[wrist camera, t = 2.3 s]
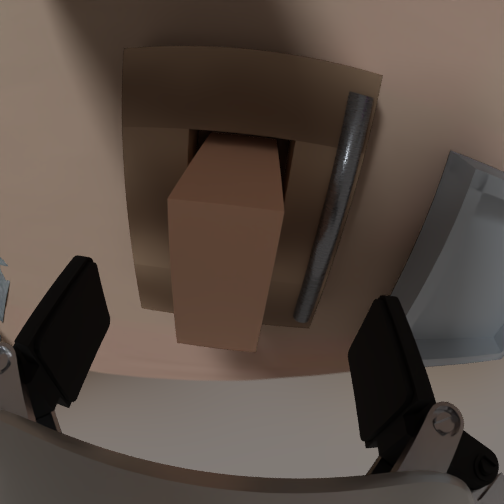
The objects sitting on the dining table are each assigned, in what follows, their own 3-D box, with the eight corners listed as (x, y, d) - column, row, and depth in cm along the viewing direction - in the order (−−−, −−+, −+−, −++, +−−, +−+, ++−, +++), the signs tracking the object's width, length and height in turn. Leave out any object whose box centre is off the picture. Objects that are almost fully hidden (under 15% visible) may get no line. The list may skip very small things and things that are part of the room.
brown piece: (142, 48, 11) (118, 48, 9) (367, 72, 11) (387, 76, 9) (150, 285, 19) (139, 314, 17) (306, 304, 19) (309, 334, 17)
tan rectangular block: (211, 132, 13) (167, 198, 8) (276, 139, 13) (284, 211, 8) (205, 239, 17) (177, 342, 11) (260, 246, 17) (255, 352, 11)
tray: (450, 150, 13) (475, 168, 11) (571, 207, 13) (589, 224, 11) (364, 341, 22) (370, 368, 20) (491, 339, 22) (501, 359, 20)
